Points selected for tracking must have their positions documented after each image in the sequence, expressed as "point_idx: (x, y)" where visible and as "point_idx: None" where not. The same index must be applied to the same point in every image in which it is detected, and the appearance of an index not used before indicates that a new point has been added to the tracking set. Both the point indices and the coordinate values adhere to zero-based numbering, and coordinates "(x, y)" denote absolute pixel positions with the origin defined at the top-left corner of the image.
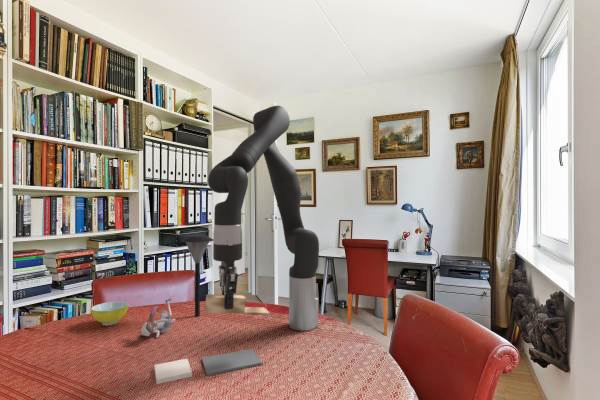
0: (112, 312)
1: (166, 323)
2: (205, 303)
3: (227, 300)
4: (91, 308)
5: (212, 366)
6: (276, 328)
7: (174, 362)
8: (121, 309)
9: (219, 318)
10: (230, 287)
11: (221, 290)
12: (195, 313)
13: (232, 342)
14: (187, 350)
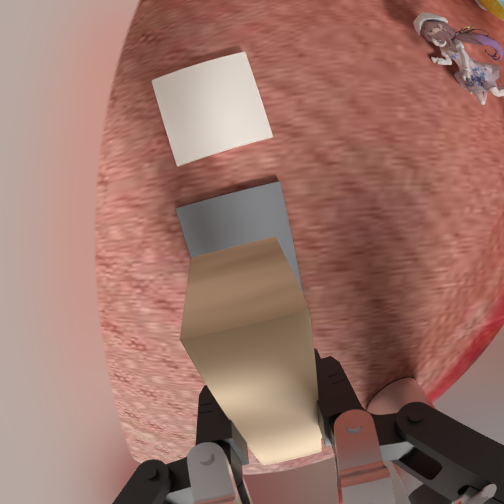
0: None
1: (470, 80)
2: (276, 262)
3: (198, 423)
4: None
5: (214, 220)
6: (407, 355)
7: (250, 102)
8: (497, 3)
9: (498, 219)
10: (335, 465)
11: (349, 412)
12: None
13: (374, 262)
14: (352, 132)
